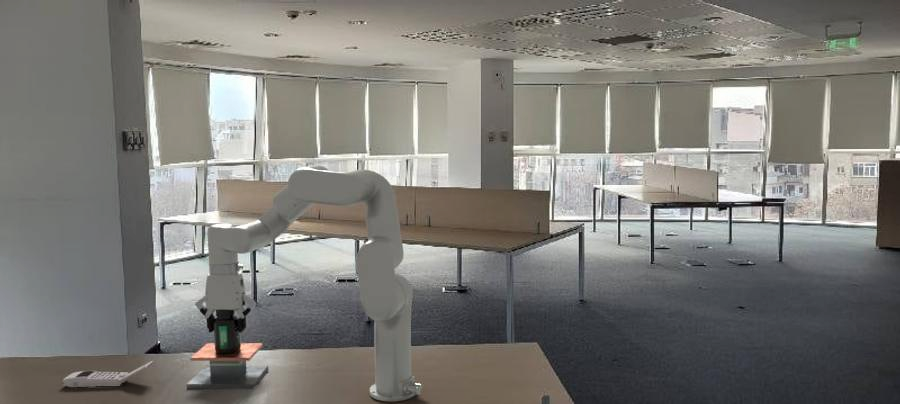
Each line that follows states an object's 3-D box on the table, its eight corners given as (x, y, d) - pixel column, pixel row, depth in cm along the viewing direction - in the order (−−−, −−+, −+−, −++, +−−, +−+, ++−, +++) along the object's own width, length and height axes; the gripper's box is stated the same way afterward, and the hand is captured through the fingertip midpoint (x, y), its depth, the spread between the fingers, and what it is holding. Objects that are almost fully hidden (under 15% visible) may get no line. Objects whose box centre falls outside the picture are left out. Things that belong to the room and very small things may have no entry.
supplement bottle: (227, 355, 183) (224, 312, 181) (209, 352, 186) (206, 310, 184) (246, 347, 189) (243, 306, 187) (228, 344, 192) (225, 303, 190)
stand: (268, 369, 195) (267, 342, 194) (253, 388, 181) (251, 359, 180) (206, 369, 195) (205, 342, 194) (186, 388, 181) (185, 359, 181)
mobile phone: (146, 367, 182) (52, 368, 181) (147, 388, 183) (54, 389, 182) (155, 359, 188) (64, 360, 187) (156, 380, 189) (66, 381, 188)
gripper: (259, 265, 188) (262, 327, 190) (197, 266, 188) (201, 327, 191) (251, 271, 181) (253, 335, 183) (186, 272, 181) (190, 335, 183)
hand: (226, 330), depth 187 cm, fingers open, 7 cm apart
